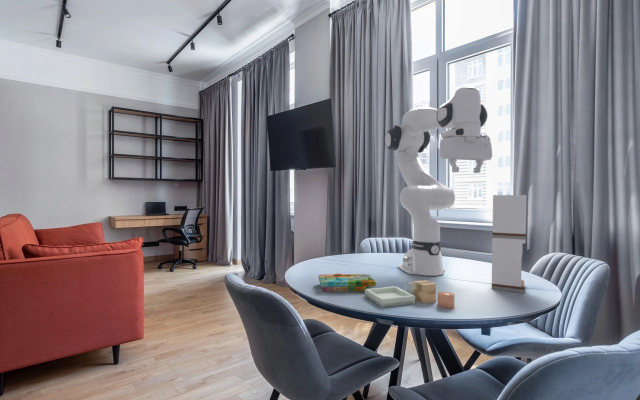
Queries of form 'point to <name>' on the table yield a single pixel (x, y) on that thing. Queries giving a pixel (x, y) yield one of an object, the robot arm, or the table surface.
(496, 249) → the striped white tower
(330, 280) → the puzzle game
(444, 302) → the terracotta puck
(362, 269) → the table surface
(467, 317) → the table surface
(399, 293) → the sage tray
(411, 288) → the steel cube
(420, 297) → the oak block
